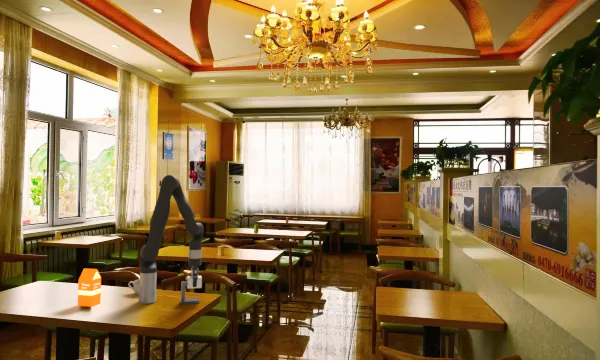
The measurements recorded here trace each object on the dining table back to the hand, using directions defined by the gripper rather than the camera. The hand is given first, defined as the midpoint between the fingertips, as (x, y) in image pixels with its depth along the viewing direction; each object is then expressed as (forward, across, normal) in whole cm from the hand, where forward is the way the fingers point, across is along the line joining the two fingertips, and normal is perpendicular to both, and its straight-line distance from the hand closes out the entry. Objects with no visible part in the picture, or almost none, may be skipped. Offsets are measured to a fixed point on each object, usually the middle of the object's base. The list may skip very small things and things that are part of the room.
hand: (194, 285), depth 249 cm
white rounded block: (+1, 0, 0) cm, 1 cm away
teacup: (+10, +28, +31) cm, 43 cm away
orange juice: (+10, +8, +57) cm, 58 cm away
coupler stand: (+10, 0, +2) cm, 10 cm away
